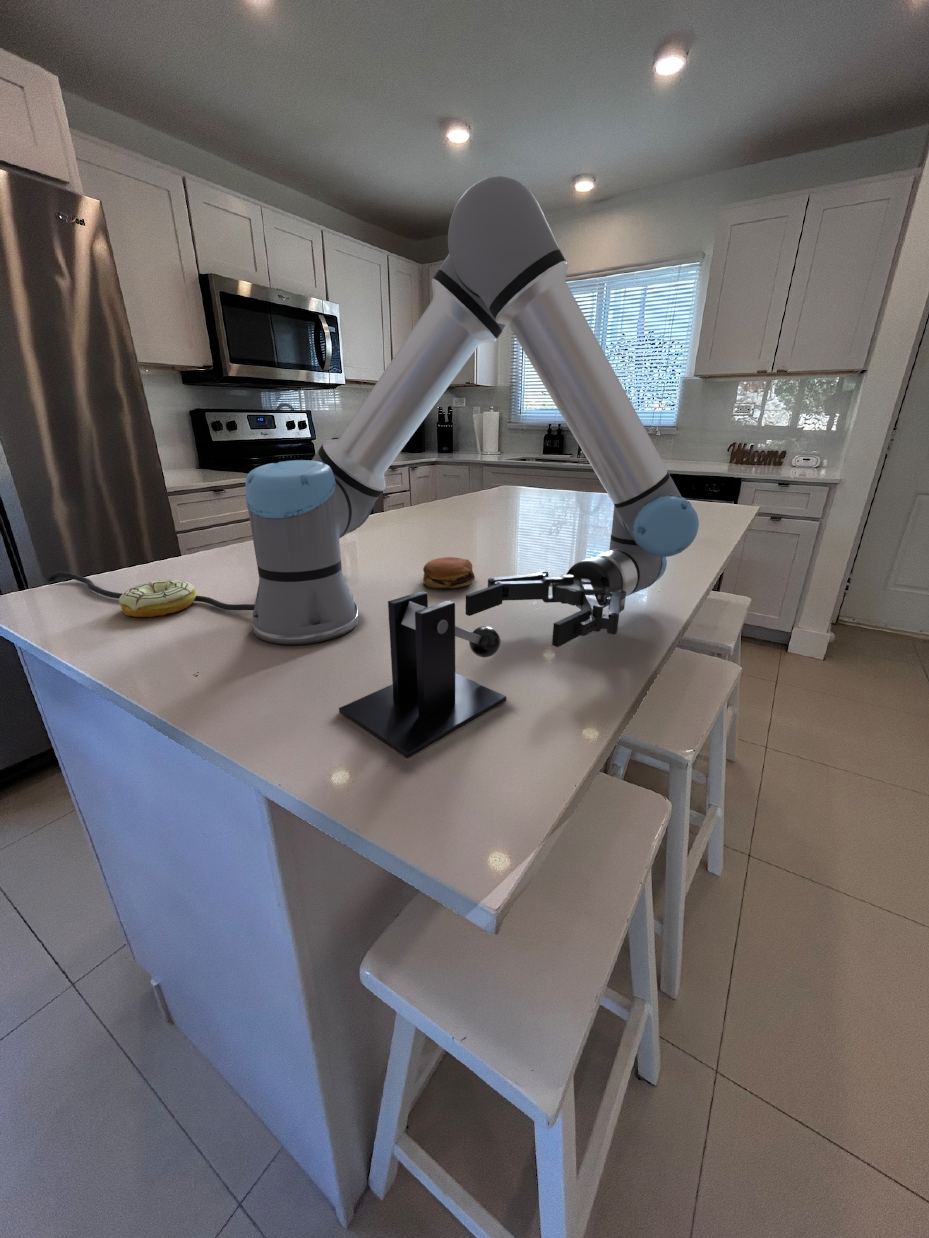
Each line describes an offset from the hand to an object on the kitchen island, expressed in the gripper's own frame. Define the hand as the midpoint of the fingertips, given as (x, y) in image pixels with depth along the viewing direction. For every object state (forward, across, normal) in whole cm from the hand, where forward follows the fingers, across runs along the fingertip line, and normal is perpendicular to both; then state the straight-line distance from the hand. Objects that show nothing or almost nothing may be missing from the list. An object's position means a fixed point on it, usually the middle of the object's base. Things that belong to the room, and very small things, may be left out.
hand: (508, 619), depth 61 cm
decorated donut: (+23, +55, -7) cm, 60 cm away
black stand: (+14, 0, -7) cm, 15 cm away
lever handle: (+10, 0, 0) cm, 10 cm away
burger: (-20, +31, -7) cm, 37 cm away
